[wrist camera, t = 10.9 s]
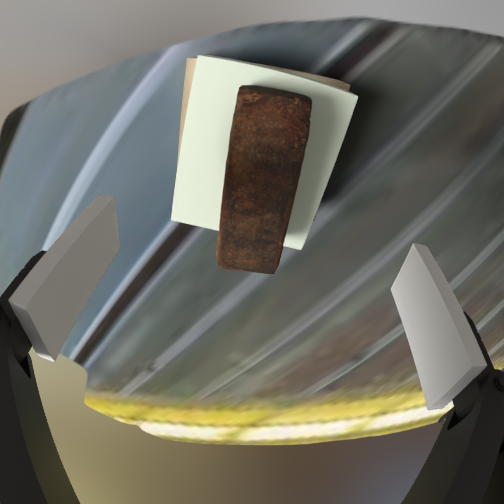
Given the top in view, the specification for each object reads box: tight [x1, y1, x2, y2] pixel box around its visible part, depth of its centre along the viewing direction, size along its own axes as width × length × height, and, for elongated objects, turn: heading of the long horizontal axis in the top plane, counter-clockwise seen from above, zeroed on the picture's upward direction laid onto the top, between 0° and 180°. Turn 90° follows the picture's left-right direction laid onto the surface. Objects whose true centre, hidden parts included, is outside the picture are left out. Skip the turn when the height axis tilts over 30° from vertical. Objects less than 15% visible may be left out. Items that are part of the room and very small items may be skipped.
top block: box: [171, 55, 358, 250], centre depth 21 cm, size 10×12×4 cm
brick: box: [216, 85, 312, 274], centre depth 18 cm, size 11×4×5 cm, turn 172°
